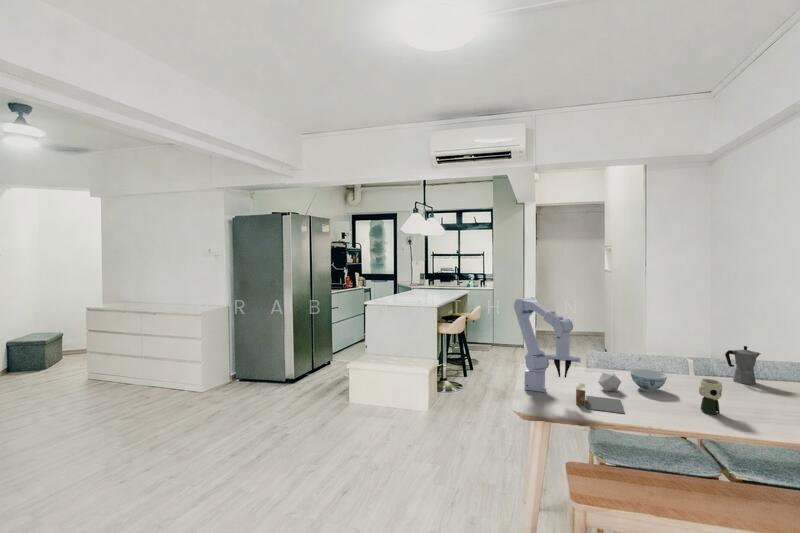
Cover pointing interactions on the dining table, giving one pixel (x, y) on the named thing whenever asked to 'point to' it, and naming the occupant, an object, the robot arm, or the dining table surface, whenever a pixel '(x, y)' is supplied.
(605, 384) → the die
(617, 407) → the mat
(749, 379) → the coffeepot
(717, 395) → the character mug
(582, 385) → the two-tone wooden block
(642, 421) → the dining table surface
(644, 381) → the chinaware
